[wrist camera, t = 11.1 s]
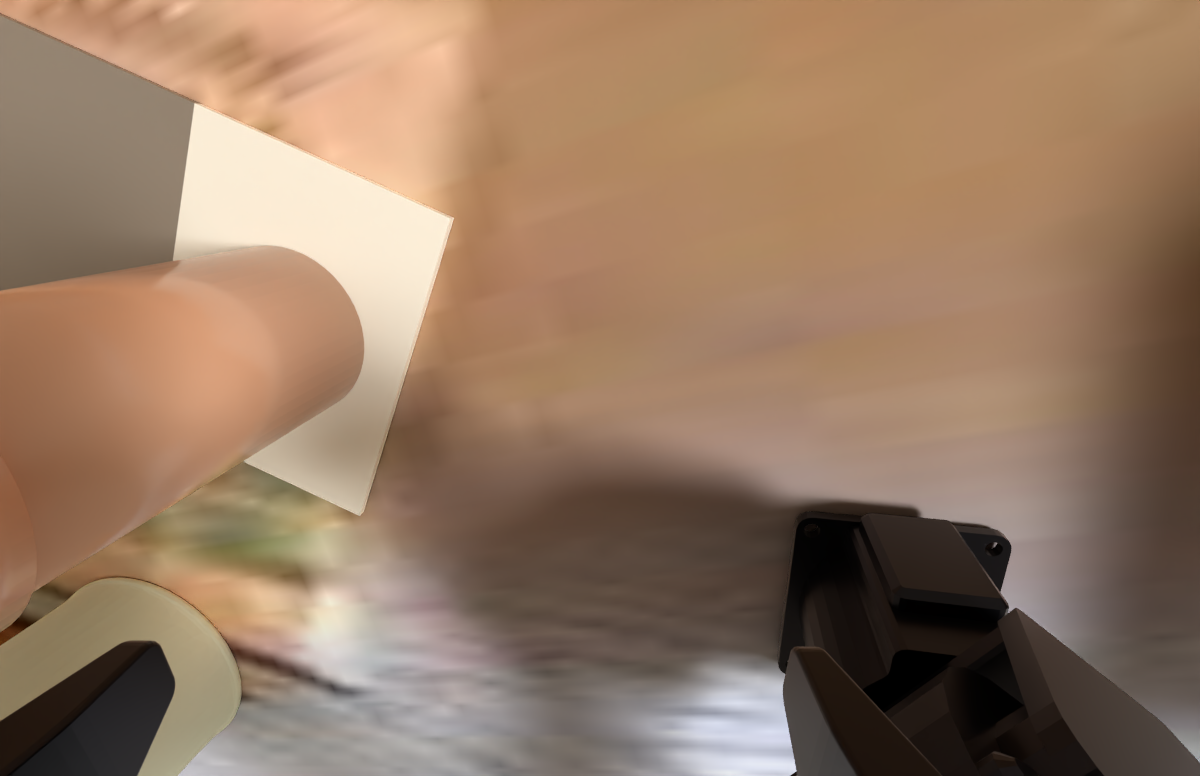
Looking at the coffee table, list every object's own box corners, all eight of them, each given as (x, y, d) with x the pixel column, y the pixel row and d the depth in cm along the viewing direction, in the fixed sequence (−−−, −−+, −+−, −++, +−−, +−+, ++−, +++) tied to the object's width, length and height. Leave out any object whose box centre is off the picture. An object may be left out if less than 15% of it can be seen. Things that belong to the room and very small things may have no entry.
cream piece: (527, -23, 17) (347, -218, 9) (363, 512, 24) (173, 692, 16) (-148, -319, 18) (-931, -770, 9) (-120, 286, 24) (-555, 342, 16)
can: (36, 639, 30) (-371, 915, 19) (123, 539, 27) (-304, 800, 16) (180, 763, 31) (-123, 1094, 20) (279, 682, 28) (-12, 1021, 17)
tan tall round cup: (380, 428, 22) (-15, 737, 10) (217, 411, 23) (-319, 673, 11) (362, 241, 20) (-173, 354, 8) (182, 231, 21) (-537, 318, 9)
